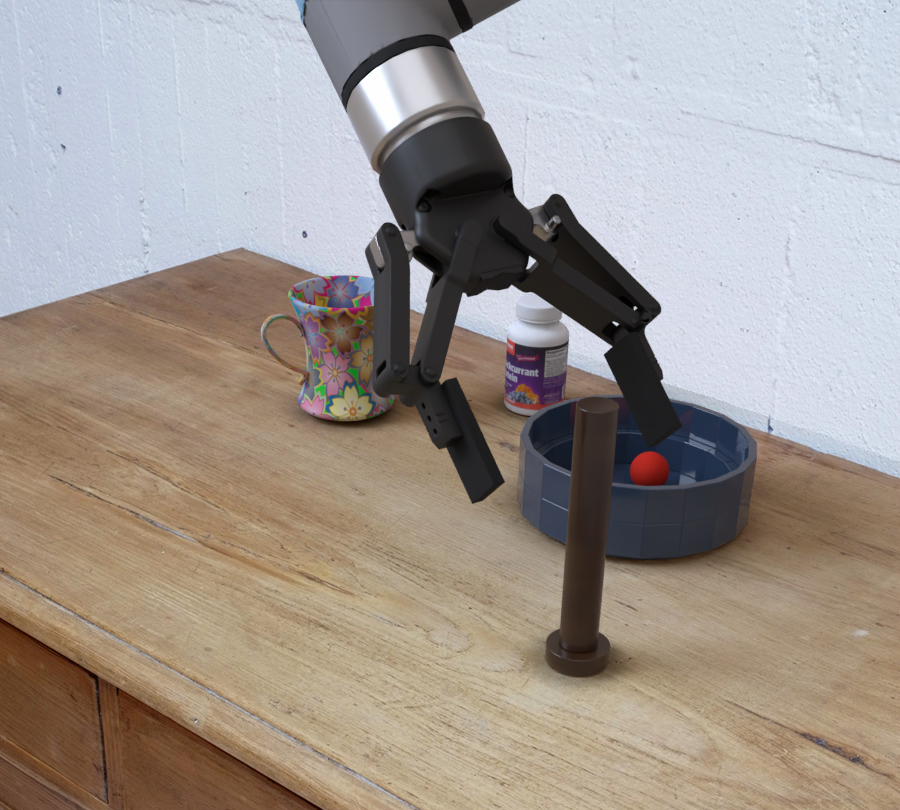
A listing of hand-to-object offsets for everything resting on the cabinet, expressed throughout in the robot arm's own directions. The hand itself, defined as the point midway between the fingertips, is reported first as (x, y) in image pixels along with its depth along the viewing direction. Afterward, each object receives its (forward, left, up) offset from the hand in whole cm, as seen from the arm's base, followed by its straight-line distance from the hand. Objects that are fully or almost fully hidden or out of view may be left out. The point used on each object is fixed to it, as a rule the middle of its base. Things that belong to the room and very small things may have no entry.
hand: (581, 464), depth 76 cm
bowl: (-9, -19, -13) cm, 24 cm away
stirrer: (0, +1, -13) cm, 13 cm away
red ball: (-10, -21, -11) cm, 26 cm away
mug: (+13, -40, -13) cm, 44 cm away
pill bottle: (-5, -40, -13) cm, 42 cm away
